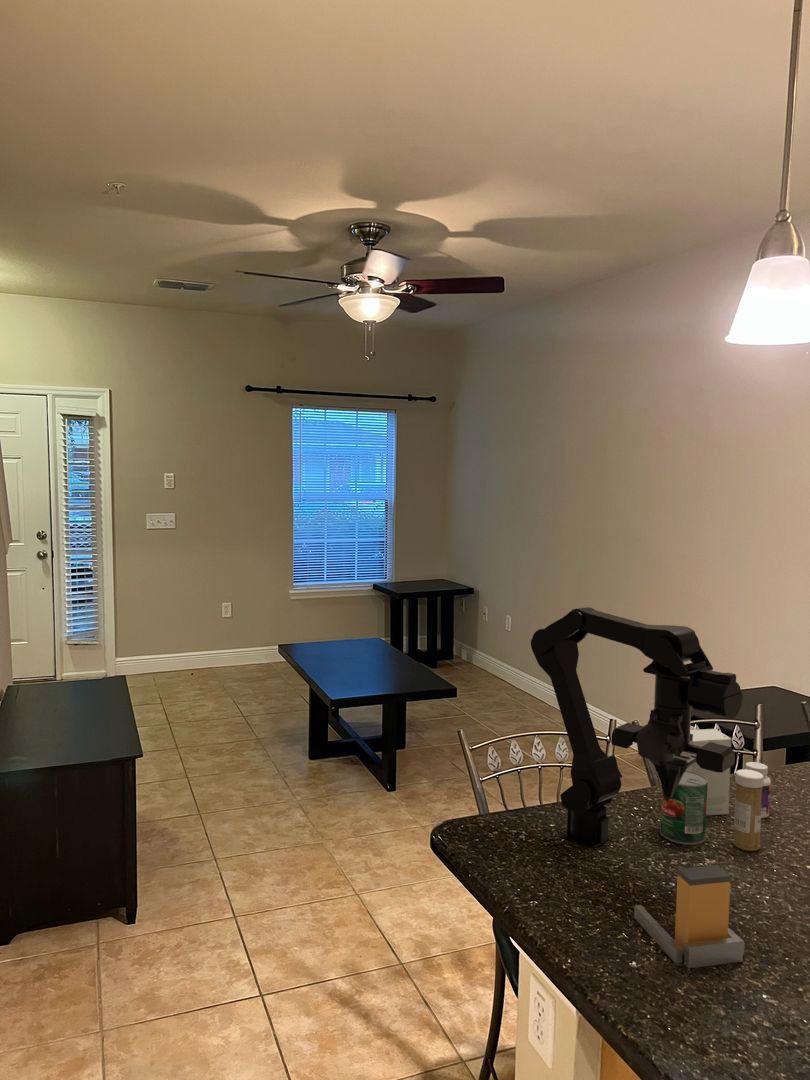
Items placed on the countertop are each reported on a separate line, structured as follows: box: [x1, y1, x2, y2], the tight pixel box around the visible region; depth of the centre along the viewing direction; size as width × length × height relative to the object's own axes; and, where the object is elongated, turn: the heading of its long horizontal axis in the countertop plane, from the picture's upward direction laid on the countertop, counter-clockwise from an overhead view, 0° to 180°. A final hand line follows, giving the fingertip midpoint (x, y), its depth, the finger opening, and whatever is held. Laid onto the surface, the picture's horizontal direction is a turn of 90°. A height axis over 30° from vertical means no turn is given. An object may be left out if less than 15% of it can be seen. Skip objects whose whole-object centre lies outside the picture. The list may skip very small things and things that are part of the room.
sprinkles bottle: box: [732, 768, 764, 852], centre depth 137 cm, size 5×5×14 cm
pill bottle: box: [744, 761, 772, 819], centre depth 151 cm, size 5×5×10 cm
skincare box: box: [686, 728, 733, 817], centre depth 152 cm, size 8×7×16 cm
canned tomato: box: [659, 771, 708, 846], centre depth 141 cm, size 8×8×11 cm
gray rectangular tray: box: [633, 904, 746, 969], centre depth 108 cm, size 16×10×4 cm, turn 12°
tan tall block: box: [674, 864, 732, 955], centre depth 104 cm, size 3×6×11 cm, turn 102°
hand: (668, 797), depth 126 cm, fingers closed
